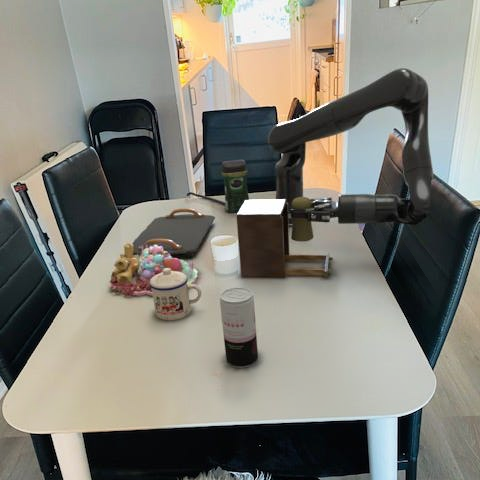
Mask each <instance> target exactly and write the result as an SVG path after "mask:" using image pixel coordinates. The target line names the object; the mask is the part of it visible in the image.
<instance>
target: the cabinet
mask: <svg viewBox="0 0 480 480" xmlns="http://www.w3.org/2000/svg"><path fill="white" fill-rule="evenodd" d="M235 216H236V227H237V228H236V229H237V239H238V251H239V252H238V253H239V263H240V273H241V274H240V276H241V278H243V279H245V278H246V279H247V278H250V279H252V278H253V279H254V278H257V279H258V278H259V279H285V278H286V275H285V269H286V267H285V265H286V262H285V263H284V255H291V254H290V226H289V221H288V203H286V199H276V198H272V199H270V198H269V199H249V200H245V202H244V203H243V205H242V206H241V208H240V210H239V211H238V212H236V215H235Z"/></svg>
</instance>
